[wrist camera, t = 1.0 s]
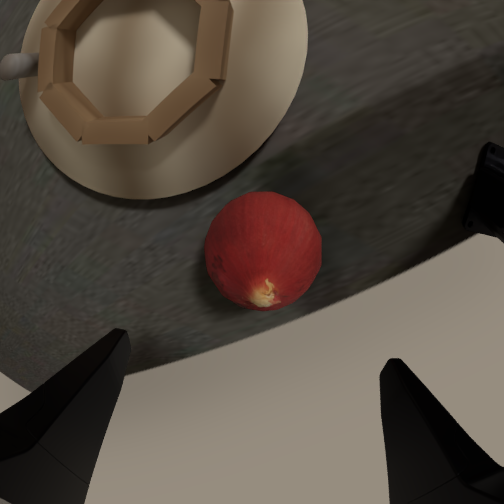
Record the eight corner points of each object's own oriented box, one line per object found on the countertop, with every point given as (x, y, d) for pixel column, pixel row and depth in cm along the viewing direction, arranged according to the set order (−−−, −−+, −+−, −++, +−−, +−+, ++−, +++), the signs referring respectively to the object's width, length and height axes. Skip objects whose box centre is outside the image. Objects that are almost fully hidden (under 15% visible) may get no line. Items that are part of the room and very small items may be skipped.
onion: (268, 274, 21) (265, 370, 14) (198, 223, 19) (160, 308, 12) (330, 216, 18) (363, 300, 11) (259, 153, 17) (251, 207, 10)
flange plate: (317, -70, 9) (328, -103, 5) (282, 206, 18) (286, 240, 14) (47, -39, 9) (10, -49, 5) (36, 187, 18) (0, 211, 14)
